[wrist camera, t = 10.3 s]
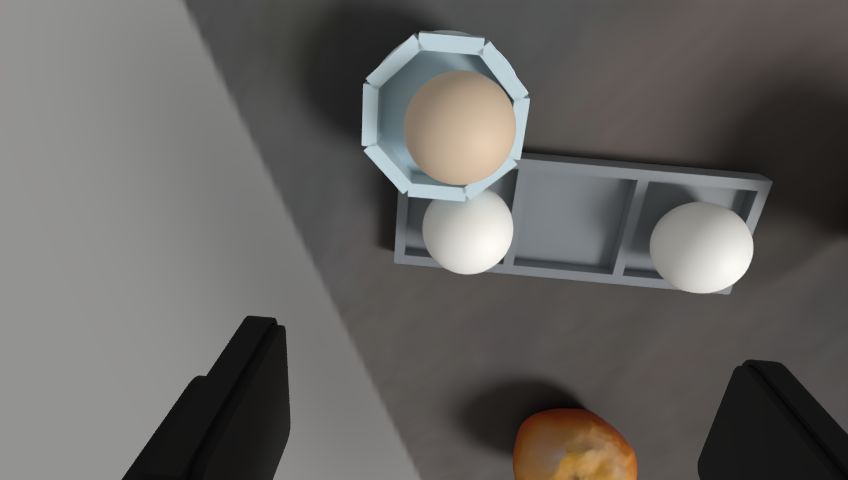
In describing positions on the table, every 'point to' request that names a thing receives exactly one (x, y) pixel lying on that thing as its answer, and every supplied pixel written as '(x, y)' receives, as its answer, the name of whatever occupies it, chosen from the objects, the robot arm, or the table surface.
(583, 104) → the table surface
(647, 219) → the egg tray
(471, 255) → the white egg
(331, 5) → the table surface
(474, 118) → the egg brown
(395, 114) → the egg cup
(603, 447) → the fruit
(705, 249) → the white egg
